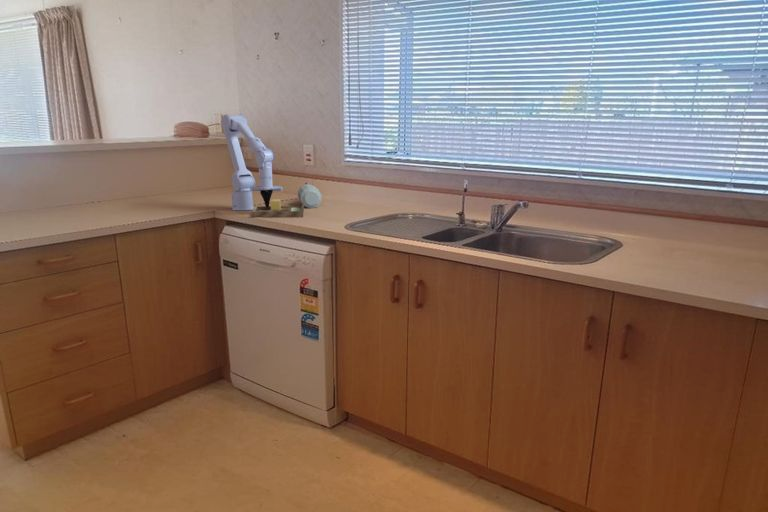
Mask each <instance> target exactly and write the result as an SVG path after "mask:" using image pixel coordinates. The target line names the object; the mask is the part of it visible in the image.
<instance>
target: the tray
mask: <svg viewBox="0 0 768 512" xmlns="http://www.w3.org/2000/svg"><path fill="white" fill-rule="evenodd" d="M304 212H305V206H304V203H301V205H281V208H280V210H271V205H269V207H266V206H265V205H263V206H262V205H261V206H258V205H257V206H256V208H255V211H253V218H254V217H265V218H303V217H304Z"/></svg>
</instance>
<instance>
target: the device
mask: <svg viewBox="0 0 768 512" xmlns="http://www.w3.org/2000/svg"><path fill="white" fill-rule="evenodd" d="M298 189H299V190H298V191H297V198H298V200H299V202H300V203H301V204H302V203H304V207H305V208H307V209H315V208H317V207H318V206H320V204H321V202H322V193H321V192H320V191H321V190H319V188H317V187H316V186H314V185H313V184H311V183H310V184H309V183H308V182H304V184H303V185H302V186H300V188H298Z"/></svg>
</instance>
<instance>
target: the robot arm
mask: <svg viewBox="0 0 768 512" xmlns="http://www.w3.org/2000/svg"><path fill="white" fill-rule="evenodd" d="M220 123H221V126H222V130H223V133H224V136H225V140H226V141H225V142H226V144H227V148H228V152H229V155H230V158H231V162H232V165H233V169H234V172H233V173H232V175H231V177H230V178H231V185H232V188H233V189H234V190H232V192H231V203H232V204H231V206H232V211H253V210H254V209H255V208H256V207H255V206H254V203H253V199H254V198H253V192H259V193H260V195H261V197H262V199H263V202H264V206H266V207H269V206H270V203H271V197H272V194H273V193H274V192H284V191H283V190H284V188H283V186H279V185H278V186H277V185H273V183H274V181H273V165H272V164H273V162H274V160H275V154H274V152H273V150H272V149H269V148H267V146H266V145H265V144H264V143H263V142H262V140H261V139H260V137H256V136H255V135H254V133H253V132H252V130H251V129H250V127H249V125H248V119H247V118H246V116H245V115H244V114H224V115H223V116H222V119H221V121H220ZM239 135H242V136H243V137H244V139H246V140H247V141H248V147H249V148H250V149H251V151H252V153H254V155H255V161H256V162H257V167H258V174H259V175H258V177H259V185H257V186H256V180H255V177H254V176H253V173H252V172H251V171H250V170H249V169H247V167H246V162H245V159H244V156H243V153H242V149H241V145H240V141H239V137H238V136H239Z"/></svg>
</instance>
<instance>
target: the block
mask: <svg viewBox="0 0 768 512" xmlns="http://www.w3.org/2000/svg"><path fill="white" fill-rule="evenodd" d="M270 206H271V210H280V208H281V206H282V204H281V199H270Z"/></svg>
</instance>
